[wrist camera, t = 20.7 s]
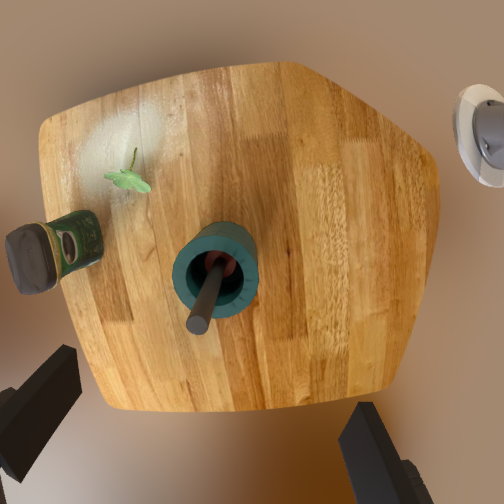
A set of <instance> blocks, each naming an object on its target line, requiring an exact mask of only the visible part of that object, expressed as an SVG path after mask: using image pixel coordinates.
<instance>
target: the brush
mask: <svg viewBox="0 0 504 504" xmlns="http://www.w3.org/2000/svg"><path fill="white" fill-rule="evenodd" d="M236 262H237V260H236V259H235V258H234V257H233V256H231V255H229V254H227V253H226V252H223V251H218V250H211V251H209V252H208V254H207V255H206V258H205V268H206V270H207V272H208V275H207V277H206V279H205V282H204V284H203V286H202V288H201V290H200V292H199V295H198V297H197V299H196V301H195V303H194V306H193V308H192V310H191V312H190V314H189V317H188V319H187V321H186V327H187V329H188V331H189V332H191V333H192V334H194V335H202V334H204V333H205V332H206V331H207V330H208V327H209V323H210V320H211V316H212V313H213V309H214V306H215V302H216V299H217V295H218V292H219V288H220V285H221V282H222V278H226V277H228V276H230V275H231V274H232V273H233V272H234V270H235V267H236Z"/></svg>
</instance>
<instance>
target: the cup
mask: <svg viewBox="0 0 504 504" xmlns="http://www.w3.org/2000/svg"><path fill="white" fill-rule="evenodd" d="M211 250H218V251H223V252H226V253H227V254H229V255H231V256H233V257H234V258H235V259H236V260H237V262H236V267H235V270H234V272H233V273H232V274H231V275H230V276H228V277H226V278H222V282H221V285H220V288H219V292H218V295H217V299H216V302H215V306H214V309H213V313H212V316H211V318H214V319H217V318H227V317H230V316H233V315H235V314H238V313H240V312H241V311H242V310H243V309H245V308H246V307H247V306H248V305H249V304H250V303H251V301H252V300H253V298H254V296H255V295H256V293H257V288H258V283H259V274H258V262H257V251H256V245H255V242H254V240H253V238H252V237H251V235H250V234H249V233H248V232H247V231H246V230H245V229H244V228H243V227H241V226H240V225H238V224H235V223H232V222H216V223H213V224H210V225H208V226H207V227H205V228H204V229H203V230H202V231H201V232H199V233H198V234H197V235H196V236H195V237H194V238H193V239H192V240H191V241H190V242H189V243H188V244H187V245H186V246H185V247H184V248H183V249H182V250H181V251H180V252H179V254H178V256H177V258H176V260H175V262H174V265H173V273H172V279H173V284H174V289H175V291H176V293H177V295H178V297H179V298H180V300H181V301H182V302H183V303H184V304H185V305H186V306H187V307H188V308H189V309H190V310H192V308H193V306H194V303H195V301H196V299H197V297H198V295H199V292H200V290H201V288H202V286H203V284H204V282H205V279H206V277H207V275H208V272H207V270H206V268H205V258H206V255H207V254H208V252H209V251H211Z"/></svg>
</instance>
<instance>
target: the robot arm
mask: <svg viewBox="0 0 504 504" xmlns="http://www.w3.org/2000/svg"><path fill="white" fill-rule="evenodd" d="M495 100H496V99H486V101H482V102H480V103H479V104H478V105H477V106H476V108H475V110H474V113H473V118H472V128H473V135H474V139H475V143H476V145H477V148H478V150H479V152H480V154H481V156H482V158H483V159H484V160H485V162H486V163H487V164H488V165H489V166H491V167H492V168H494V169H498V170H504V102H500V101H495ZM81 393H82V388H81V383H80V375H79V368H78V360H77V352H76V349H75V348H72V347H69V346H67V345H64V344H63V345H62V346H61V347H60V348H59V349H58V350H57V351H56V352H55V353H54V354H53V355H52V356H51V357H49V358H48V360H46V361H45V363H43V364H42V365H41V366H40V367H39V368H38V369H37V371H35V372H34V373H33V375H31V377H29V379H28V380H27V381H26V382H25V383H24V384H23V385H22V386H21V387H20V388H19V389H18V390H15V389H13V388H12V387H10V388H8V389H6V390H3V391H1V392H0V468H1V467H2V468H3V470H4V471H5V473H6V474H7V475H9V476H10V477H12V478H13V479H15V480H16V481H18V482H19V483H21V482H22V481H23V479H24V478H25V476H26V474H27V472H28V471H29V470H30V468H31V467H32V465H33V463H34V462H35V460H36V459H37V457H38V456H39V454H40V453H41V451H42V450H43V448H44V447H45V445H46V444H47V442H48V441H49V439H50V438H51V436H52V435H53V433H54V432H55V430H56V429H57V427H58V426H59V425H60V423H61V422H62V420H63V419H64V417H65V416H66V415H67V413H68V412H69V410H70V409H71V407H72V406H73V405H74V403H75V402H76V400H77V399H78V398H79V396H80V395H81ZM338 441H339V444H340V448H341V451H342V454H343V458H344V461H345V465H346V468H347V471H348V475H349V478H350V482H351V485H352V488H353V492H354V495H355V498H356V502H357V504H434V503H433V501H432V499H431V497H430V495H429V493H428V490H427V488H426V486H425V484H423V480H422V478H421V477H420V474H419V472H418V470H417V468H416V466H415V465H413V463H412V462H410V461H409V460H400V457H399V455H398V453H397V451H396V449H395V447H394V445H393V443H392V441H391V439H390V437H389V434H388V432H387V430H386V428H385V426H384V424H383V422H382V420H381V418H380V416H379V414H378V412H377V410H376V408H375V406H374V404H373V402H358V404H357V406H356V408H355V410H354V412H353V413H352V415H351V417H350V419H349V421H348V423H347V425H346V426H345V428H344V430H343V432H342V434H341V435H340V437H339V439H338ZM0 504H7V503H6V499H5V495H4V490H3V486H2V481H1V476H0Z"/></svg>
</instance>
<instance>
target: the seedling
mask: <svg viewBox="0 0 504 504" xmlns="http://www.w3.org/2000/svg"><path fill="white" fill-rule="evenodd" d="M135 152H136V148H135V151H134V159H133V162H132V165H131V167H130V171H129V170H126V169H120V171H121V172H122V173H112V172H111V173H107V174H105V175H104V177H105V178H106V179H115V180H114V181H113V183H114V184H115V185H116V186H118V187H120V188H123V189H130V188H132V186H133V188H134V189H135V190H136V191H138V192H144V193H147V192H149V191H151V188H150V186H149V185H148V184H147V183H145V182H144V181H142V180H140V179H142V177H141V176H139V175H138V174H137V173H135V172H132V171H131V168H132V166H133V163H134V160H135Z"/></svg>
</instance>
